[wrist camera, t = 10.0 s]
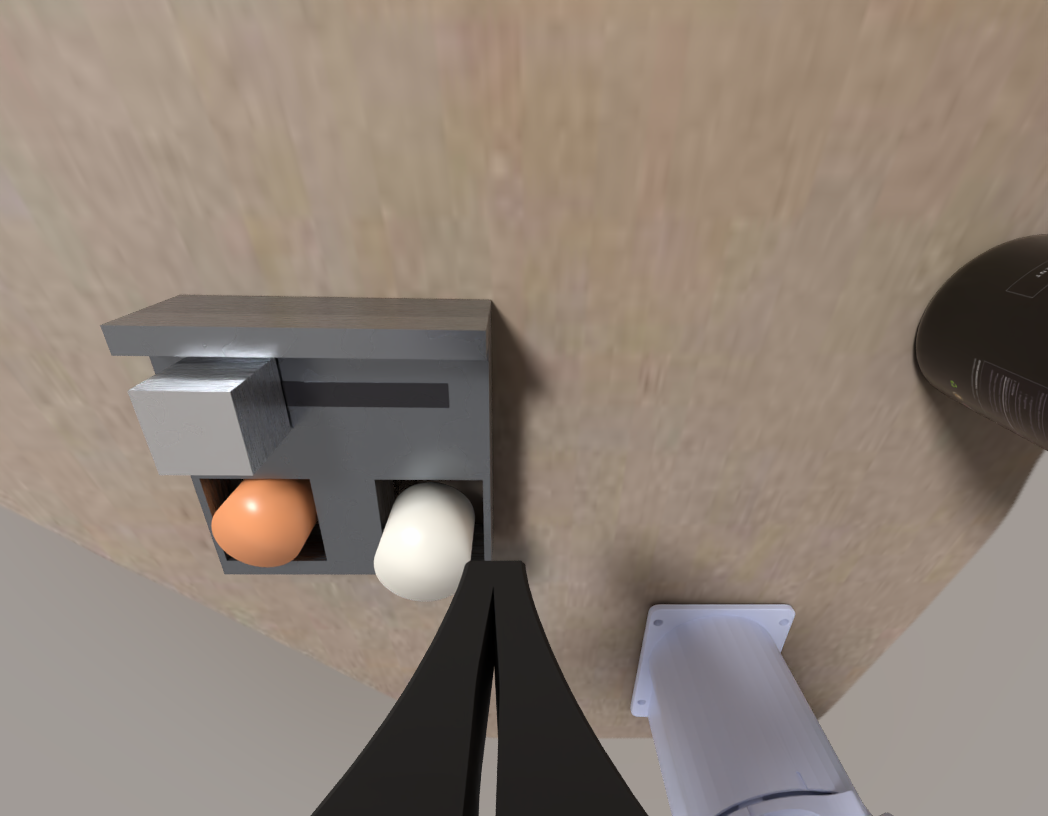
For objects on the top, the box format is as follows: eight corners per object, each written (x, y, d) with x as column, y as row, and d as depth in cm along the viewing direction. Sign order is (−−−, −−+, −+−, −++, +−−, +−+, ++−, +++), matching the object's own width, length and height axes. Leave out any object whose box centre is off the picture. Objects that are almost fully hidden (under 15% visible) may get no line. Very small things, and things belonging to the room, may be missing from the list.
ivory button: (476, 548, 22) (470, 601, 19) (396, 547, 22) (379, 601, 19) (473, 482, 20) (467, 530, 18) (387, 481, 20) (368, 530, 17)
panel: (493, 536, 24) (489, 600, 21) (251, 536, 24) (205, 601, 20) (491, 299, 19) (485, 330, 15) (179, 294, 19) (100, 325, 15)
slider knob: (291, 430, 18) (253, 475, 16) (211, 430, 18) (159, 474, 16) (274, 356, 17) (230, 391, 14) (188, 355, 17) (127, 390, 14)
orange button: (333, 521, 23) (309, 567, 21) (257, 520, 23) (224, 567, 20) (320, 458, 22) (293, 498, 19) (239, 457, 22) (200, 498, 19)
